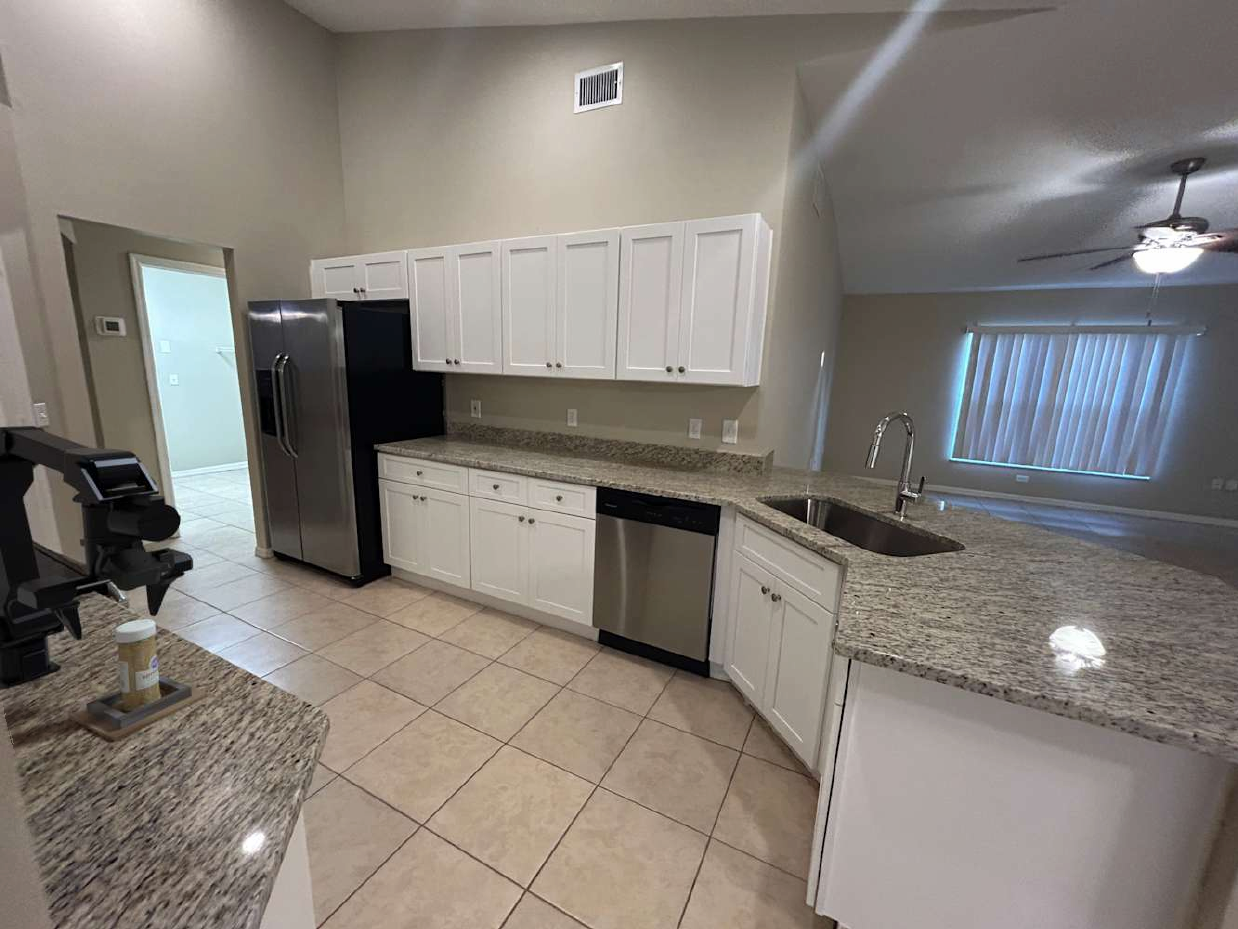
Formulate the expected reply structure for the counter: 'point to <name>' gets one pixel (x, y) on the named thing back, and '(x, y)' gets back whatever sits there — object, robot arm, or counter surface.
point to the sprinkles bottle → (137, 663)
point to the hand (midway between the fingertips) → (117, 626)
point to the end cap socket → (120, 723)
